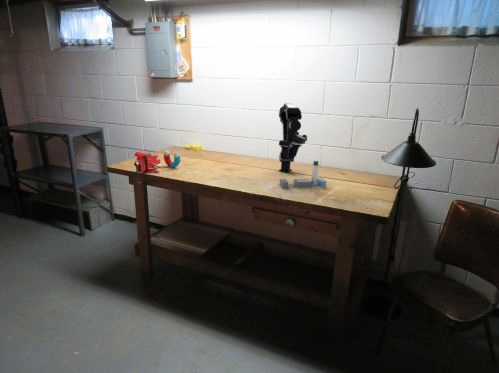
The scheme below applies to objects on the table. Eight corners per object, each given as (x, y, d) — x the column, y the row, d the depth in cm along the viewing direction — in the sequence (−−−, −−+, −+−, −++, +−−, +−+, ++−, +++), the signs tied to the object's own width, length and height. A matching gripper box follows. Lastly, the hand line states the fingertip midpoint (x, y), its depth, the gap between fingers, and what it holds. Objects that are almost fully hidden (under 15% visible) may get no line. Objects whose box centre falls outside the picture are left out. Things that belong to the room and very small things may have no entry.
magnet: (180, 168, 222) (180, 152, 218) (177, 169, 219) (177, 153, 216) (167, 165, 228) (166, 149, 225) (164, 166, 225) (163, 150, 222)
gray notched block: (279, 186, 193) (279, 179, 191) (321, 184, 197) (322, 178, 196) (282, 189, 187) (282, 182, 186) (325, 188, 191) (326, 181, 190)
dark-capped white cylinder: (311, 183, 195) (313, 160, 191) (317, 184, 194) (319, 160, 190) (310, 185, 192) (312, 161, 188) (316, 185, 191) (319, 162, 187)
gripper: (297, 131, 188) (295, 160, 192) (312, 130, 203) (311, 157, 207) (278, 130, 195) (277, 158, 198) (295, 128, 209) (294, 155, 213)
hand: (290, 157), depth 204 cm, fingers open, 9 cm apart
